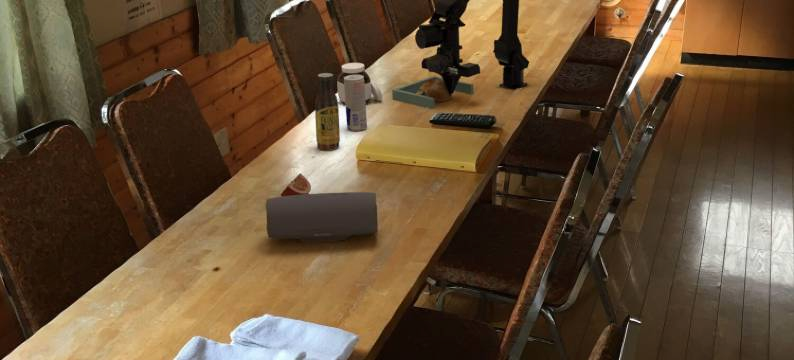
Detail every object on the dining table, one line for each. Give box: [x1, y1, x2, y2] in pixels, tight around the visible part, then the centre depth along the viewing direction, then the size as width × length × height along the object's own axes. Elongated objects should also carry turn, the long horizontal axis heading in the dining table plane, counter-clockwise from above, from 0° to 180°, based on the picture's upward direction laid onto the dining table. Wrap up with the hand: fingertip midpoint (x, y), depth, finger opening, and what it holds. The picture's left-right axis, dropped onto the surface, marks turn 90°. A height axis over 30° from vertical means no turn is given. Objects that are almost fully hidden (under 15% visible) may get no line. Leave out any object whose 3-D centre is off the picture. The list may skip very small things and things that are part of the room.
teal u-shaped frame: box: [391, 75, 474, 110], centre depth 288 cm, size 19×16×3 cm
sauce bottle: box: [314, 72, 341, 151], centre depth 247 cm, size 6×6×20 cm
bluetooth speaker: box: [265, 191, 379, 243], centre depth 197 cm, size 23×9×10 cm, turn 92°
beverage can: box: [344, 75, 368, 132], centre depth 261 cm, size 6×6×15 cm
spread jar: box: [336, 62, 383, 106], centre depth 284 cm, size 12×11×12 cm
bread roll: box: [418, 78, 453, 103], centre depth 286 cm, size 10×10×8 cm
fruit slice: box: [280, 173, 312, 197], centre depth 218 cm, size 8×7×5 cm
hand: (451, 93), depth 282 cm, fingers closed
